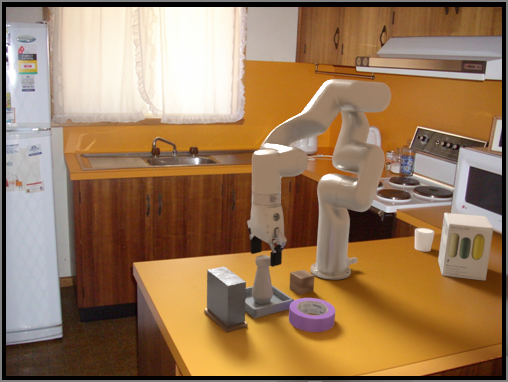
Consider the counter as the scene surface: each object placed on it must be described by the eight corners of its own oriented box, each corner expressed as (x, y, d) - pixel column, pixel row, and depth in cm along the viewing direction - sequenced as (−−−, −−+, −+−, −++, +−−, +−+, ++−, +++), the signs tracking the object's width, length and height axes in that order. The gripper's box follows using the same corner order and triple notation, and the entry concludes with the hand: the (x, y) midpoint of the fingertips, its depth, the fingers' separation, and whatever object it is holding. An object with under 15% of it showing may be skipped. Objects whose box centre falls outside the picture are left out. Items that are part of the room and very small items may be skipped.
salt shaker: (260, 294, 146) (262, 251, 143) (276, 301, 142) (279, 256, 139) (247, 301, 142) (248, 256, 138) (263, 308, 138) (265, 262, 135)
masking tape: (330, 311, 140) (331, 298, 139) (337, 333, 128) (338, 319, 127) (287, 309, 139) (288, 296, 139) (290, 332, 128) (291, 318, 127)
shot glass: (434, 248, 189) (436, 229, 188) (429, 253, 184) (432, 234, 182) (415, 244, 193) (417, 226, 191) (410, 249, 187) (412, 231, 186)
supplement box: (441, 276, 165) (448, 223, 160) (437, 261, 177) (443, 211, 173) (486, 281, 162) (494, 227, 157) (479, 265, 174) (486, 215, 170)
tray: (268, 290, 150) (268, 282, 150) (293, 307, 140) (293, 299, 140) (230, 299, 144) (231, 291, 143) (254, 318, 134) (254, 309, 133)
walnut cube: (303, 285, 155) (303, 269, 154) (313, 291, 151) (314, 275, 150) (289, 288, 152) (290, 272, 151) (299, 295, 148) (300, 278, 147)
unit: (224, 307, 139) (225, 265, 137) (247, 326, 130) (249, 282, 127) (204, 312, 136) (204, 269, 133) (226, 332, 126) (227, 287, 124)
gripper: (297, 204, 130) (296, 267, 134) (260, 188, 144) (260, 245, 149) (272, 209, 126) (272, 273, 131) (237, 192, 140) (237, 251, 145)
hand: (265, 258), depth 140 cm, fingers open, 9 cm apart
